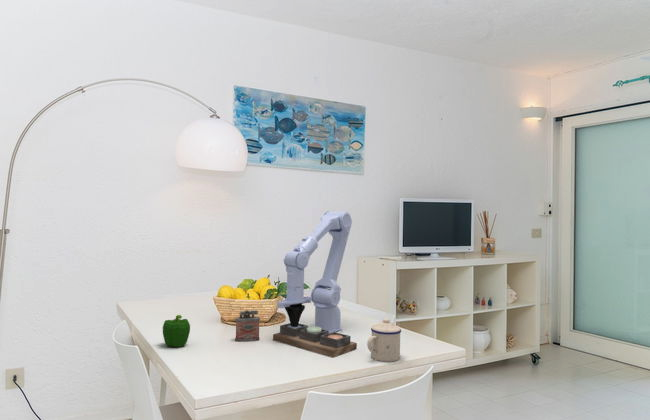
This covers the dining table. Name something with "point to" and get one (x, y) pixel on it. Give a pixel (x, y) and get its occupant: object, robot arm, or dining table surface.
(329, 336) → the button terracotta
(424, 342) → the dining table surface
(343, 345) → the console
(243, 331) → the lighter
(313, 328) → the button sage
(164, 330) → the bell pepper
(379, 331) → the teacup with lid
